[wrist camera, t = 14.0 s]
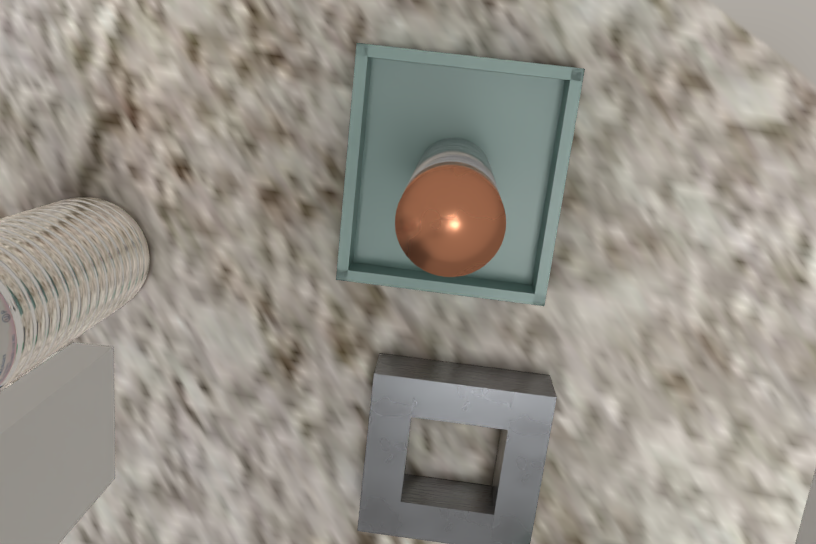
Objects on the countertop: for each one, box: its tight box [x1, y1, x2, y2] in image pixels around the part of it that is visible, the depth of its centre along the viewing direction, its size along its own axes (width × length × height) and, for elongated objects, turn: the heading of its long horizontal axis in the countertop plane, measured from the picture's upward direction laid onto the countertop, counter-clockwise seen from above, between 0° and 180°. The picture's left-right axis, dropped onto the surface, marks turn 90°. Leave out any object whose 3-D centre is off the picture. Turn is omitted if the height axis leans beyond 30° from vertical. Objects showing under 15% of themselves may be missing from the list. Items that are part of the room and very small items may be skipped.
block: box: [357, 353, 557, 544], centre depth 42 cm, size 10×10×3 cm
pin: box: [395, 138, 506, 277], centre depth 32 cm, size 4×4×13 cm
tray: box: [336, 43, 585, 306], centre depth 38 cm, size 11×12×2 cm
